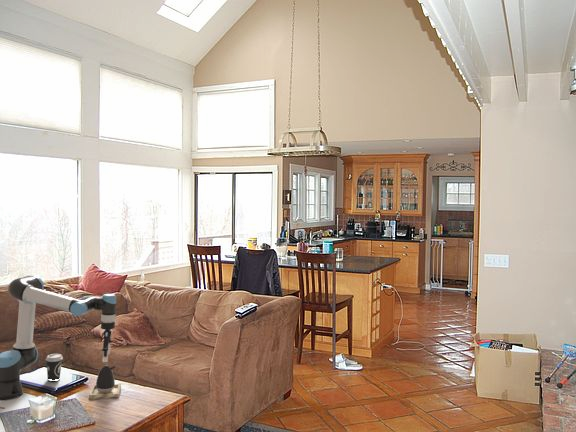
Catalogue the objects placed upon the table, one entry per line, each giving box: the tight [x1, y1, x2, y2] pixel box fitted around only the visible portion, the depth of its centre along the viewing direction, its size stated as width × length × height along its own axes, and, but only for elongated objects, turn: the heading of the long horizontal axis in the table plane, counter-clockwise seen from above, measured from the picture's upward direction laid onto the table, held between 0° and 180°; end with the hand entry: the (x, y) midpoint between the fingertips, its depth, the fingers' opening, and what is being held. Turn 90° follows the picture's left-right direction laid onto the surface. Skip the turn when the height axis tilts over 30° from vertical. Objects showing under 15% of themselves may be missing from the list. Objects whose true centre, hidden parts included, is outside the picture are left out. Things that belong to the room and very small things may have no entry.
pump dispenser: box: [95, 365, 116, 393], centre depth 297 cm, size 10×10×15 cm
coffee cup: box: [45, 353, 64, 380], centre depth 313 cm, size 10×10×15 cm
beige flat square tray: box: [88, 383, 122, 401], centre depth 297 cm, size 16×16×2 cm
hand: (106, 358), depth 296 cm, fingers open, 13 cm apart
